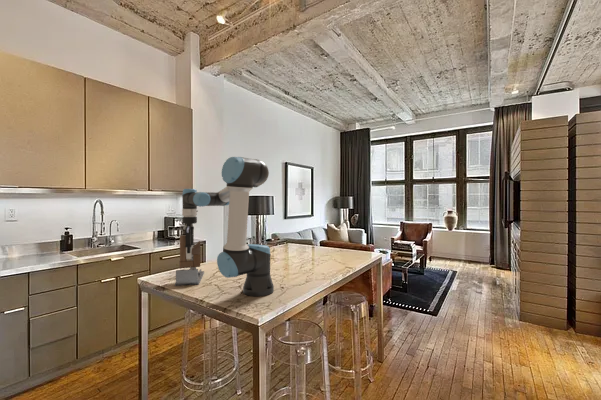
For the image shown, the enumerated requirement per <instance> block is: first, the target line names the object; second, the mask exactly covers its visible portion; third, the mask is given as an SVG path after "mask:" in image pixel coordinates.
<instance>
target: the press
mask: <svg viewBox="0 0 601 400" xmlns="http://www.w3.org/2000/svg"><path fill="white" fill-rule="evenodd" d="M204 274H205V270H202V268H201V269H198V268H196V269H190V268H188V269H176V270H175V282H174V287H179V286H195V285H196V286H197V285H198V286H199V285H200V284H201V281H202V278H203V276H204Z"/></svg>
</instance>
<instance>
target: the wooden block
mask: <svg viewBox="0 0 601 400" xmlns="http://www.w3.org/2000/svg"><path fill="white" fill-rule="evenodd" d="M185 245H186V239H185V234H181V235H179V270H182V269H187V268H188V269H190V268H191V267H196V268H199V267H201V241H200V240H199V241H198V242H196V243H195V244H194V245H193V248H192V255H193V260H190V259H186V247H185Z"/></svg>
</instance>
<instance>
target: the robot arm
mask: <svg viewBox="0 0 601 400" xmlns="http://www.w3.org/2000/svg"><path fill="white" fill-rule="evenodd" d="M269 171H270V170H269V167H268V166H267V164H266V163H265V162H264V161H262V160H260V159H258V158H257V159H256V158H249V157H242V156H229V158H226V159H225V162H224V163H223V164H222V168H221V177H222V180H223V182H224V183H226V187H224V188H223V189H221V190H219V191H217V192H214V191H213V192H211V191H210V192H207V191H205V192H204V191H199V192H198V191H197V189H196V188H183V189H182V194H181V197H182V198H181V199H182V201H181V203H182V209H181V212H182V220H181V221H182V224H183V225H186V226H185V228H184V232H185V233H184V235H185V239H186V245H185V247H186V259H187V260H190V259H192V257H193V255H192V248H193V247H194V246H195V242H194V239H195V238H194V237H195V236H194V235H195V234H194V233H195V232H194V230H195V227H194V224H197V222H198V217H197V215H198V212H199V210H198V207H200V208H201V207H218V206H219V207H225V206H228V214H227V215H228V217H227V218H228V220H227V233H226V234H227V235H226V237H227V238H226V240H227V241H226V243H225V244H224V245H223V247H222V252H220V253H219V254H217V259H216V264H217V268H218V270H219V273H220V274H221V275H222V276H223V277H225V278H228V279H229V278H236V277H239V276H243V275H246V277H245V281H244V283H243V286H242V293H243V294H244V295H245V296H250V297H263V296H267V295H272V293H274V292H275V288H274V287H275V285H274V283H273V280H272V277H271V255H272V254H271V248H270V246H269V245H264V244H258V243H257V244H256V243H255V244H253V243H251V244H250V243H248V244H247V234H248V221H249V218H248V217H249V204H250V203H249V200H250V191H251V190H253V189H254V188H258V187H260V186H261V185H264V184H265V183H266V182H267V180H268V178H269V174H270V172H269Z"/></svg>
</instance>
